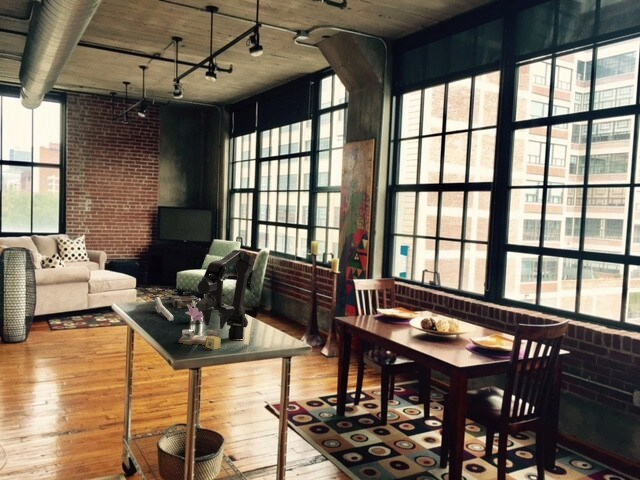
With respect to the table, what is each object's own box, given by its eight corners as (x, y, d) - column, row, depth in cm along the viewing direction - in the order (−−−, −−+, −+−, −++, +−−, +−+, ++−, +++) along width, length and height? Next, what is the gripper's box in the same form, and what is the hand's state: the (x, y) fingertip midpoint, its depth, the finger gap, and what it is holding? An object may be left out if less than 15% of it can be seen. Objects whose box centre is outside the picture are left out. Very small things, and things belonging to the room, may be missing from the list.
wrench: (169, 326, 284) (153, 309, 309) (172, 326, 285) (157, 309, 310) (170, 311, 283) (155, 296, 308) (174, 311, 284) (158, 295, 309)
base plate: (220, 339, 250) (221, 327, 250) (216, 345, 239) (217, 333, 239) (183, 337, 250) (184, 326, 249) (178, 343, 239) (178, 331, 238)
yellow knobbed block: (212, 346, 238) (213, 335, 237) (220, 349, 234) (221, 337, 234) (205, 348, 234) (205, 336, 234) (213, 350, 231) (213, 339, 231)
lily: (207, 327, 278) (211, 310, 282) (187, 320, 272) (192, 302, 276) (195, 330, 287) (200, 313, 291) (176, 323, 281) (181, 306, 285)
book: (194, 303, 342) (195, 295, 341) (201, 310, 318) (201, 302, 318) (171, 303, 336) (171, 295, 336) (175, 311, 313) (176, 302, 313)
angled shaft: (192, 337, 246) (192, 328, 245) (194, 338, 243) (195, 330, 243) (181, 338, 243) (181, 329, 243) (183, 339, 240) (184, 330, 240)
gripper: (187, 289, 232) (185, 325, 233) (216, 296, 221) (214, 333, 222) (207, 287, 241) (205, 322, 242) (236, 293, 230) (234, 330, 231)
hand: (214, 327), depth 234 cm, fingers open, 9 cm apart
